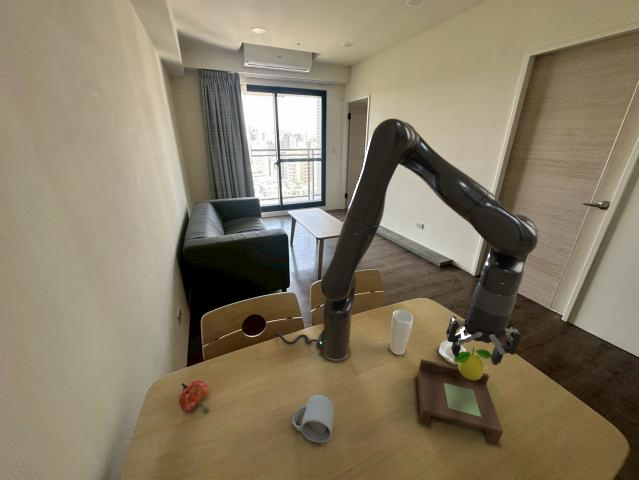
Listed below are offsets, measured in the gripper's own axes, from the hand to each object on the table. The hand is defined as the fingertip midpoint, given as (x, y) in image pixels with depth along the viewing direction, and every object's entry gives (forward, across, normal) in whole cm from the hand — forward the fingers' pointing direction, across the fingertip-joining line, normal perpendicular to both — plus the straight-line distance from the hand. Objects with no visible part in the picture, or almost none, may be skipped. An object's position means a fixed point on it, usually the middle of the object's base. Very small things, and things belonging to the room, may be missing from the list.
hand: (473, 358), depth 62 cm
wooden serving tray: (+20, +1, -1) cm, 20 cm away
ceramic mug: (+20, +37, +15) cm, 45 cm away
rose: (+20, -3, -21) cm, 29 cm away
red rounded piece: (+20, +70, +19) cm, 75 cm away
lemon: (+6, 0, 0) cm, 6 cm away
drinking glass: (+20, +16, -18) cm, 31 cm away
